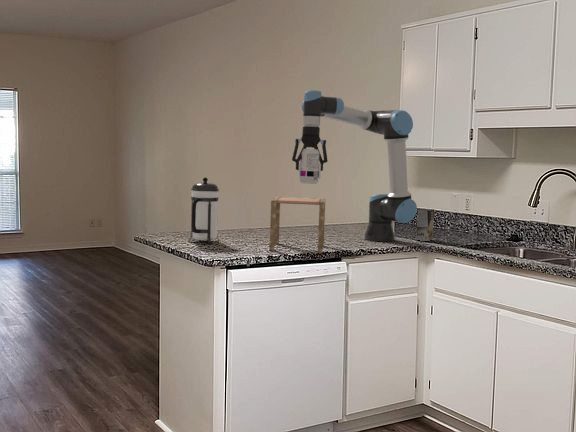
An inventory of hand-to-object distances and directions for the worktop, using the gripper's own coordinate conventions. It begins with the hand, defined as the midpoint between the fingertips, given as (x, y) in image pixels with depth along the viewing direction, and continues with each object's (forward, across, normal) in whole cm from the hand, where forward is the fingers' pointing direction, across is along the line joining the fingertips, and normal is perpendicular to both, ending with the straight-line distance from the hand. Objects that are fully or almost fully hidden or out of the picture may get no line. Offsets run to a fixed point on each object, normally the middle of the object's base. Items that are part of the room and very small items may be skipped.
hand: (308, 178), depth 305 cm
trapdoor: (+12, +3, -4) cm, 14 cm away
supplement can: (+2, 0, 0) cm, 2 cm away
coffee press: (+32, +45, -18) cm, 58 cm away
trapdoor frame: (+32, +3, -4) cm, 32 cm away
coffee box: (+31, -66, -36) cm, 82 cm away
